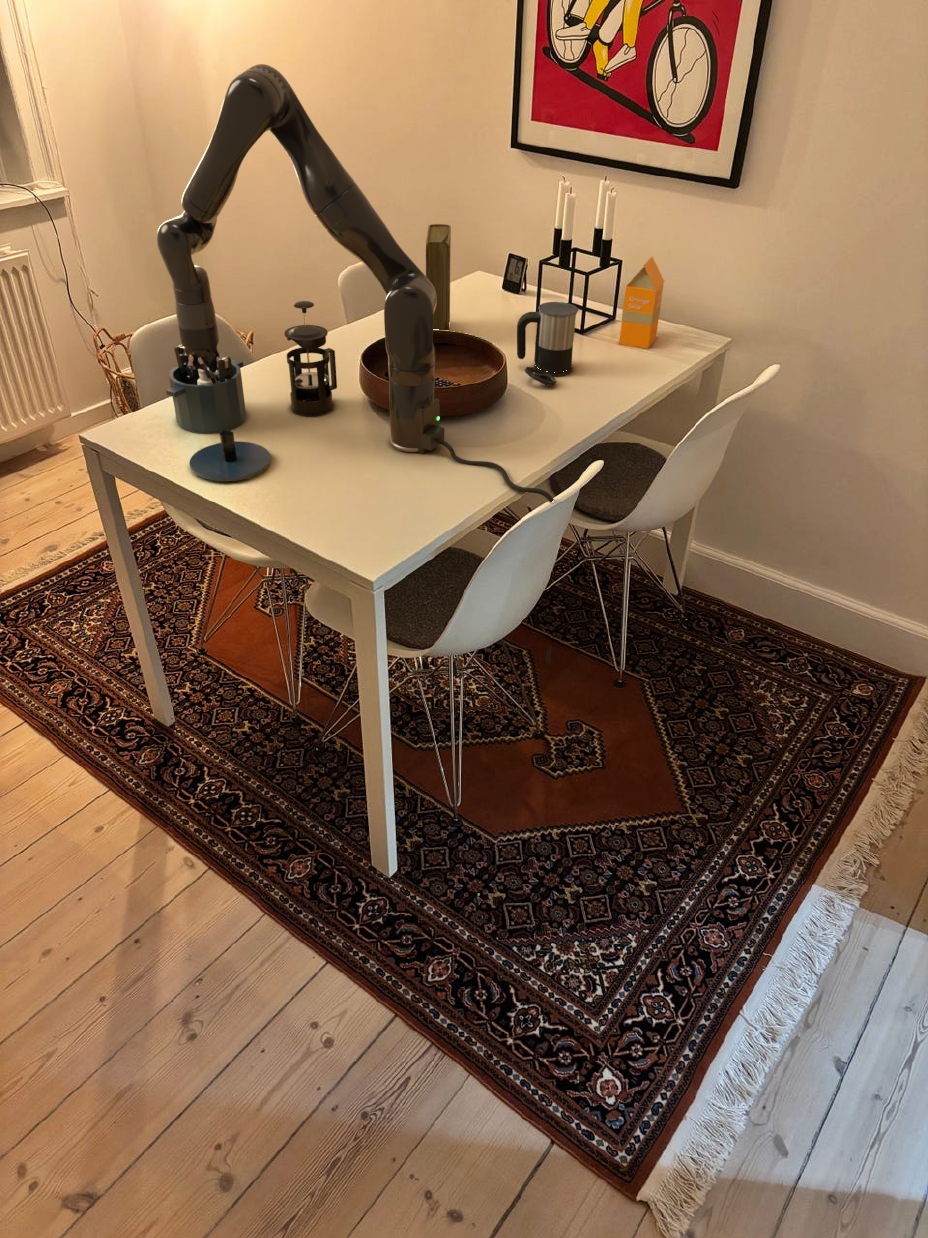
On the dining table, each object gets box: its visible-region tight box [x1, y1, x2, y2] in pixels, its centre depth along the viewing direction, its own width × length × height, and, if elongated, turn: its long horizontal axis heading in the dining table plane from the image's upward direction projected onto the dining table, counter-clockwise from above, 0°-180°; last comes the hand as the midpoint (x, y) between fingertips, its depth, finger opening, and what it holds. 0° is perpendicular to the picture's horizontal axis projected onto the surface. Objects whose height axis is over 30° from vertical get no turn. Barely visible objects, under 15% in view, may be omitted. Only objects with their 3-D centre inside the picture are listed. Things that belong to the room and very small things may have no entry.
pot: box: [165, 359, 247, 434], centre depth 203 cm, size 14×20×10 cm
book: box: [425, 223, 452, 331], centre depth 241 cm, size 16×6×25 cm, turn 179°
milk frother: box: [516, 301, 579, 387], centre depth 224 cm, size 14×16×15 cm
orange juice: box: [618, 256, 665, 349], centre depth 241 cm, size 8×9×20 cm
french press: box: [283, 300, 338, 417], centre depth 205 cm, size 12×9×23 cm
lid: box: [189, 430, 272, 482], centre depth 188 cm, size 16×16×7 cm
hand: (209, 399), depth 204 cm, fingers open, 6 cm apart
